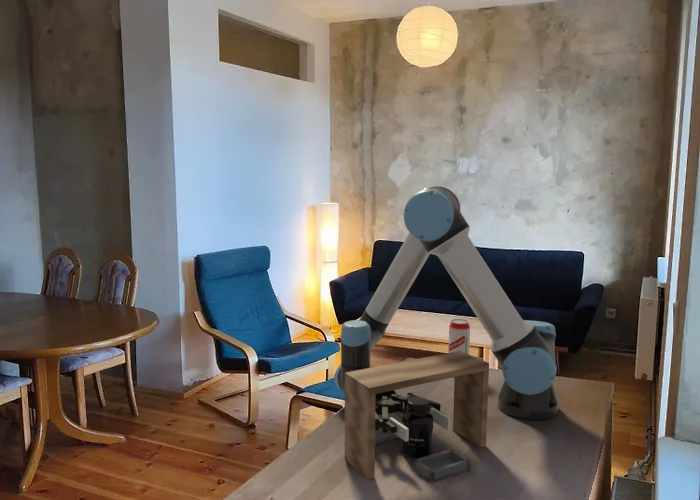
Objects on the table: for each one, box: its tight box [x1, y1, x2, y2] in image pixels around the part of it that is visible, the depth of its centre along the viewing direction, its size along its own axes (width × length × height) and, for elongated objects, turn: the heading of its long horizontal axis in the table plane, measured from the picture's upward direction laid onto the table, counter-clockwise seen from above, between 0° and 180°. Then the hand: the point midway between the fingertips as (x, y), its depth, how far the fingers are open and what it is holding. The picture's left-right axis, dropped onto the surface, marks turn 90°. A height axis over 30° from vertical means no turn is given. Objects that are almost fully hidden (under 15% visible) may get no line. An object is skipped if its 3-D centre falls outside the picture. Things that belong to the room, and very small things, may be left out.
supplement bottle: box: [400, 396, 434, 460], centre depth 137 cm, size 7×7×12 cm
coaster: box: [375, 412, 402, 444], centre depth 150 cm, size 12×12×1 cm
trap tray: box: [413, 448, 471, 484], centre depth 130 cm, size 6×10×2 cm, turn 119°
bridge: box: [344, 351, 490, 480], centre depth 137 cm, size 10×31×20 cm, turn 119°
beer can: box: [447, 318, 471, 355], centre depth 187 cm, size 6×6×16 cm
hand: (428, 429), depth 134 cm, fingers open, 10 cm apart
